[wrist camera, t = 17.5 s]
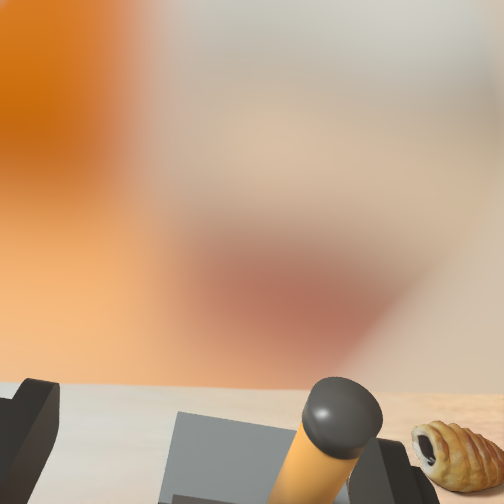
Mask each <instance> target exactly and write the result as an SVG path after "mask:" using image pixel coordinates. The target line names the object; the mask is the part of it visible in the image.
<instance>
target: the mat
mask: <svg viewBox="0 0 504 504" xmlns="http://www.w3.org/2000/svg"><path fill="white" fill-rule="evenodd" d="M296 433H297V431H294V430H288V429H282V428H276V427H270V426H264V425H258V424H252V423H245V422H239V421H233V420H227V419H221V418H215V417H209V416H203V415H197V414H190V413H184V412H178V413H177V418H176V422H175V427H174V432H173V436H172V441H171V445H170V450H169V455H168V459H167V464H166V469H165V473H164V478H163V483H162V487H161V492H160V497H159V501H158V504H171V502H172V497H173V494H176V495H183V496H190V497H196V498H203V499H210V500H216V501H223V502H230V503H236V504H266V503H267V500H268V498H269V495H270V493H271V491H272V489H273V486H274V484H275V482H276V479H277V477H278V475H279V472H280V470H281V468H282V465H283V463H284V461H285V458H286V456H287V454H288V451H289V449H290V447H291V445H292V442H293V440H294V438H295V435H296ZM332 504H350V502H349V496H348V490H347V485H346V481H345V483H344V485H343V487H342V488H341V490H340V492H339V493H338V495H337V497H336V498H335V500H334V502H333V503H332Z"/></svg>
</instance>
